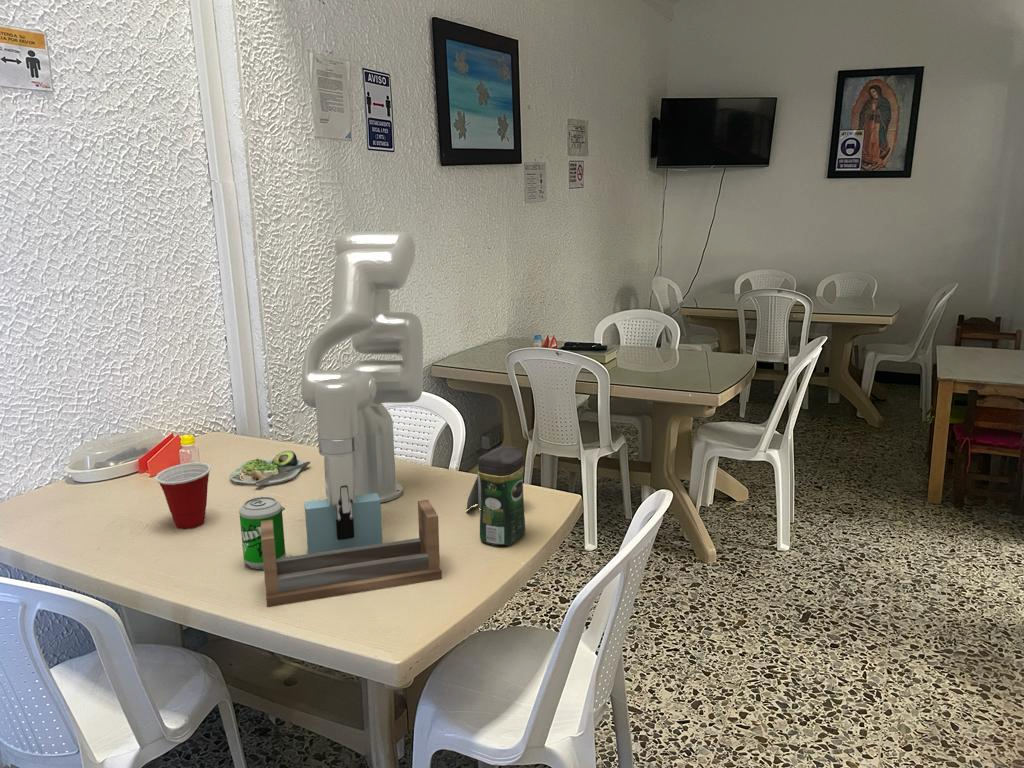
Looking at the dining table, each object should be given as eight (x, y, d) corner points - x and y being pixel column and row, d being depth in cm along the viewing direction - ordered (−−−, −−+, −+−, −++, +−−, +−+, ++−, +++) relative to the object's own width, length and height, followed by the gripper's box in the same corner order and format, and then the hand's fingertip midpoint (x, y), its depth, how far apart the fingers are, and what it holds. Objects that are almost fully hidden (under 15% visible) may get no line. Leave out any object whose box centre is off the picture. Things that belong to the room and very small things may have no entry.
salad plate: (291, 492, 180) (289, 473, 179) (216, 491, 181) (215, 473, 180) (315, 465, 199) (313, 448, 198) (247, 464, 199) (246, 447, 198)
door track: (265, 577, 138) (260, 518, 135) (428, 552, 147) (426, 497, 144) (267, 606, 127) (261, 543, 125) (441, 578, 137) (440, 518, 134)
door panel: (307, 549, 149) (304, 501, 147) (379, 539, 153) (377, 492, 151) (309, 558, 145) (305, 509, 143) (382, 547, 150) (380, 500, 147)
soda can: (271, 549, 149) (266, 492, 146) (294, 560, 144) (289, 501, 141) (236, 563, 143) (230, 503, 140) (258, 575, 138) (253, 513, 136)
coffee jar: (497, 525, 159) (495, 440, 155) (530, 532, 156) (530, 446, 152) (472, 542, 151) (471, 453, 147) (507, 551, 148) (506, 460, 143)
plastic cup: (152, 524, 161) (145, 471, 158) (202, 510, 169) (196, 458, 166) (174, 539, 154) (168, 483, 151) (225, 523, 161) (220, 469, 159)
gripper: (315, 433, 151) (320, 519, 155) (322, 459, 135) (328, 554, 140) (353, 430, 153) (358, 515, 157) (364, 455, 138) (369, 548, 142)
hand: (344, 532), depth 148 cm, fingers closed on door panel, 4 cm apart
